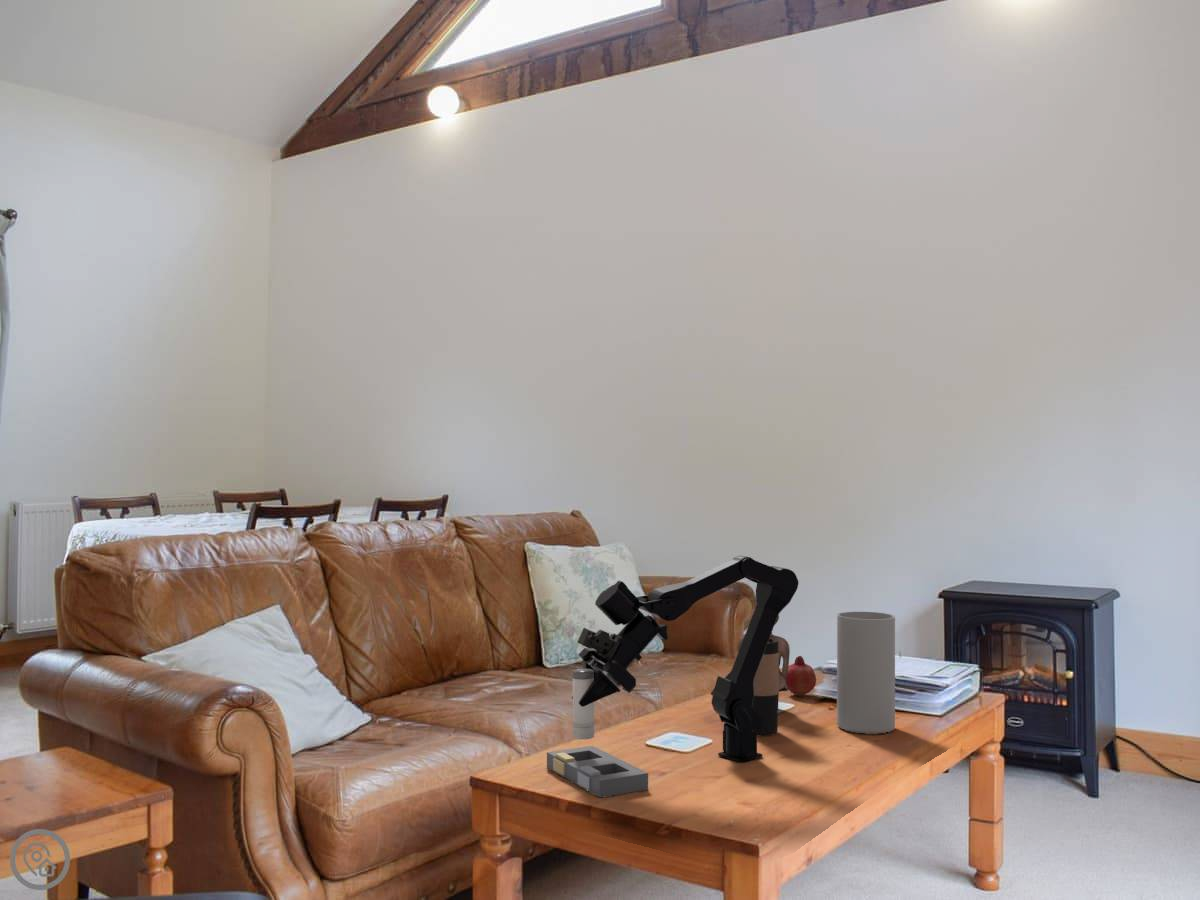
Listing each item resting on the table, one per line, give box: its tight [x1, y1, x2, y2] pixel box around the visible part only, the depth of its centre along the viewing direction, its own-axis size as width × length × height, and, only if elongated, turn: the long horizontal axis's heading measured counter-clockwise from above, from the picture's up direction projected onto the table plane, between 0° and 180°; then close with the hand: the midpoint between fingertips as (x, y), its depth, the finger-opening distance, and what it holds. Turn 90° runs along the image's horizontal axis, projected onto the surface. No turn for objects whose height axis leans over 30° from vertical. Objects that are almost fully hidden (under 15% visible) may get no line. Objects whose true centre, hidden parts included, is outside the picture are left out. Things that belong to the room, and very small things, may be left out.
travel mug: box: [752, 638, 780, 736], centre depth 234 cm, size 8×8×20 cm
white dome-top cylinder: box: [571, 668, 595, 740], centre depth 203 cm, size 4×4×12 cm
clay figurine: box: [737, 608, 791, 693], centre depth 255 cm, size 13×10×25 cm
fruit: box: [784, 655, 817, 696], centre depth 270 cm, size 8×8×10 cm
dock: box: [546, 745, 649, 798], centre depth 199 cm, size 21×10×4 cm, turn 29°
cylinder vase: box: [836, 611, 896, 735], centre depth 238 cm, size 12×12×25 cm
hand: (576, 702), depth 203 cm, fingers closed on white dome-top cylinder, 4 cm apart
